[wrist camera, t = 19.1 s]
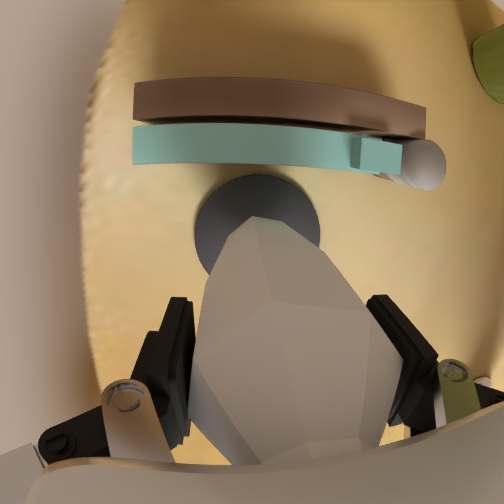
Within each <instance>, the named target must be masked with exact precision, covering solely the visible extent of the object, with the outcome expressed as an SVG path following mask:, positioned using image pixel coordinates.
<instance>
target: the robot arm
mask: <svg viewBox="0 0 504 504" xmlns="http://www.w3.org/2000/svg"><path fill="white" fill-rule="evenodd" d="M366 307H367V308H368V310H369V311H370V313H371V314H372V315H373V317H374V318H375V320H376V321H377V322H378V324H379V325H380V327H381V328H382V329H383V331H384V332H385V334H386V335H387V337H388V338H389V340H390V341H391V342H392V344H393V345H394V347H395V348H396V350H397V351H398V353H399V354H400V356H401V357H402V359H403V365H402V370H401V374H400V378H399V382H398V386H397V389H396V393H395V397H394V400H393V404H392V407H391V410H390V414H389V417H388V420H387V422H388V424H389V427H391V426H395V425H399V424H402V422H403V424H404V425H405V427H404V439H403V440H400V441H397V442H393V443H390V444H386V445H382V446H378V447H374V448H370V449H366V450H362V451H357V452H353V453H348V454H343V455H337V456H331V457H325V458H319V459H312V460H304V461H296V462H286V463H274V464H258V465H200V464H181V463H175V460H174V458H173V456H172V453H171V451H170V450H172V449H173V448H175V447H177V444H180V445H183V438H184V436H187V437H189V434H190V425H191V420H190V418H189V417H188V402H189V391H190V381H191V371H192V362H193V355H194V348H195V342H196V337H195V325H194V313H193V302H192V301H187V298H186V297H171V299H170V301H169V304H168V307H167V309H166V312H165V315H164V318H163V321H162V323H161V326H160V329H159V331H149V332H148V333H147V335H146V338H145V340H144V343H143V345H142V348H141V351H140V353H139V356H138V359H137V361H136V364H135V367H134V369H133V372H132V375H131V377H130V379H121V380H118V381H114V382H113V383H111V384H109V385H108V386H107V387H106V388H105V389H104V390H103V392H102V394H101V405H100V406H98V407H96V408H94V409H92V410H90V411H87V412H85V413H83V414H81V415H79V416H76V417H74V418H72V419H70V420H68V421H65V422H63V423H61V424H58V425H56V426H53V427H51V428H49V429H48V430H46V431H45V432H44V433H43V434H42V435H41V437H40V439H39V441H38V444H37V445H33V444H32V443H29V444H27V445H25V446H22V447H20V448H17V449H15V450H12V451H10V452H7V453H5V454H2V455H0V504H504V392H502V391H499V390H496V389H493V388H491V387H492V383H491V381H490V379H489V378H488V377H480V378H478V379H475V380H473V378H472V374H471V372H470V370H469V368H468V367H467V366H466V365H465V364H463V363H462V362H460V361H458V360H454V359H445V360H442V361H441V362H440V363H438V361H437V358H438V356H439V355H438V354H437V352H436V351H435V350H434V349H433V347H432V346H431V345H430V344H429V343H428V341H427V340H426V339H425V338H424V337H423V335H422V334H421V333H420V332H419V331H418V329H417V328H416V327H415V326H414V325H413V324H412V322H411V321H410V320H409V319H408V318H407V317H406V316H405V314H404V313H403V312H402V311H401V310H400V309H399V308H398V306H397V305H396V304H395V303H394V302H393V301H392V300H391V299H390V297H389V296H388V295H373V296H372V297H371V299H368V301H367V304H366Z"/></svg>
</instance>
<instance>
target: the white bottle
mask: <svg viewBox="0 0 504 504" xmlns="http://www.w3.org/2000/svg"><path fill="white" fill-rule="evenodd" d="M402 365H403V359H402V357H401V356H400V354H399V353H398V351H397V350H396V348H395V347H394V345H393V344H392V342H391V341H390V340H389V338H388V337H387V335H386V334H385V332H384V331H383V329H382V328H381V327H380V325H379V324H378V322H377V321H376V320H375V318H374V317H373V315H372V314H371V313H370V311H369V310H368V308H367V307H366V306H365V304H364V303H363V302H362V300H361V299H360V298H359V296H358V295H357V294H356V292H355V291H354V290H353V288H352V287H351V286H350V284H349V283H348V282H347V281H346V279H345V278H344V277H343V275H342V274H341V273H340V271H339V270H338V269H337V268H336V266H335V265H334V264H333V262H332V261H331V260H330V259H329V257H328V256H327V255H326V254H325V252H323V251H322V250H321V249H319V248H318V247H317V246H315V245H314V244H313V243H311V242H310V241H309V240H307V239H306V238H304V237H303V236H302V235H300V234H299V233H297V232H296V231H295V230H293V229H292V228H291V227H289V226H288V225H286V224H285V223H284V222H282V221H277V220H271V219H266V218H261V217H255V216H251V217H250V218H249V219H248V220H247V221H245V222H244V223H243V224H242V225H241V226H240V227H238V228H237V229H236V230H235V231H234V232H233V233H231V234H230V235H229V236H228V238H227V240H226V242H225V245H224V247H223V249H222V251H221V253H220V255H219V257H218V259H217V261H216V263H215V265H214V267H213V269H212V271H211V274H210V276H209V278H208V280H207V282H206V285H205V290H204V296H203V301H202V307H201V313H200V318H199V324H198V330H197V336H196V342H195V348H194V355H193V362H192V371H191V381H190V391H189V402H188V417H189V418H190V420H191V421H192V422H193V423H194V424H195V425H196V427H197V428H198V429H199V430H200V431H201V432H202V433H203V434H204V435H205V437H206V438H207V439H208V440H209V441H210V442H211V443H212V444H213V445H214V446H215V447H216V448H217V449H218V450H219V452H220V453H221V454H222V455H223V456H224V457H225V458H226V459H227V460H228V461H229V462H230V463H231V464H232V465H258V464H274V463H286V462H296V461H304V460H312V459H319V458H325V457H331V456H337V455H343V454H348V453H353V452H357V451H362V450H366V449H370V448H374V447H378V446H379V443H380V441H381V438H382V435H383V432H384V429H385V426H386V423H387V420H388V417H389V414H390V410H391V407H392V404H393V400H394V397H395V393H396V389H397V386H398V382H399V378H400V374H401V370H402Z"/></svg>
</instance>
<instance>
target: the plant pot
mask: <svg viewBox="0 0 504 504" xmlns="http://www.w3.org/2000/svg"><path fill="white" fill-rule="evenodd" d="M472 46H473V58H472V59H473V64H474V67H475V71H476V73H477V76H478V78H479V80H480V82H481V84H482V86H483V88H484V89H485V90H486V92H487V93H488V94H489V95H490V96H491V97H493V98H494V99H495V100H496V101H497V102H499V103H502V104H504V24H503V25H501V26H499V27H497V28H495V29H493V30H492V31H490V32H488V33H486V34H484V35H482V36H480V37H478V38H477V39H476V40H475V41H474V42H473V45H472Z"/></svg>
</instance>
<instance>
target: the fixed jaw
mask: <svg viewBox="0 0 504 504" xmlns="http://www.w3.org/2000/svg"><path fill="white" fill-rule="evenodd" d="M133 120H138V121H142V122H146V123H151V124H155V125H165V124H190V123H236V124H262V125H278V126H292V127H303V128H314V129H323V130H331V131H339V132H346V133H353V134H357V135H363V136H369V137H374V138H380V139H382V141H385V142H390V143H395V144H400V145H402V158H401V169H400V175H396V174H389V173H382V172H380V175H378V174H373V175H375V176H377V177H380V178H384V179H387V180H391V181H394V182H398V183H401V184H404V185H407V186H411V187H414V188H417V189H420V190H423V191H432V190H434V189H436V188H437V187H438V186H439V185H440V184H441V183H442V181H443V179H444V176H445V172H446V160H445V156H444V153H443V151H442V150H441V148H440V147H439V146H438V145H437V144H436V143H435V142H433V141H431V140H425V127H426V108H425V107H422V106H419V105H415V104H412V103H408V102H405V101H401V100H398V99H394V98H390V97H386V96H382V95H377V94H373V93H368V92H364V91H359V90H354V89H348V88H343V87H337V86H331V85H324V84H317V83H309V82H301V81H291V80H280V79H267V78H246V77H200V78H179V79H166V80H155V81H146V82H137V83H135V87H134V105H133Z"/></svg>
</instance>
